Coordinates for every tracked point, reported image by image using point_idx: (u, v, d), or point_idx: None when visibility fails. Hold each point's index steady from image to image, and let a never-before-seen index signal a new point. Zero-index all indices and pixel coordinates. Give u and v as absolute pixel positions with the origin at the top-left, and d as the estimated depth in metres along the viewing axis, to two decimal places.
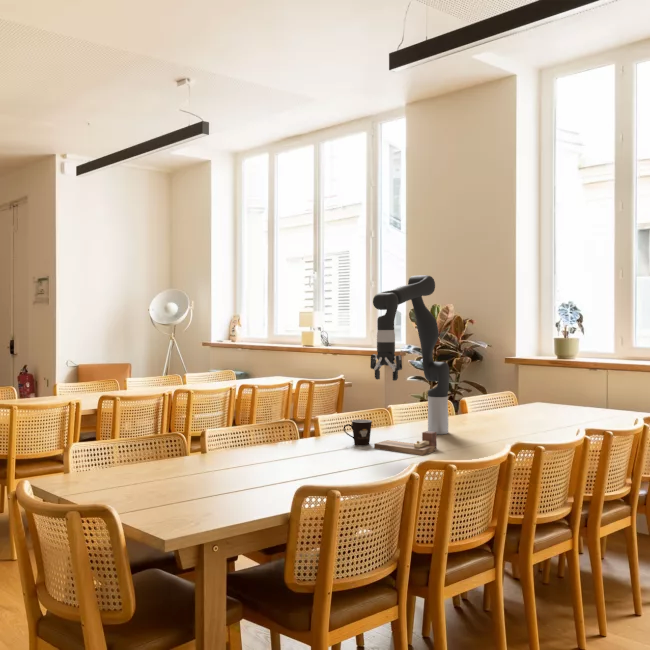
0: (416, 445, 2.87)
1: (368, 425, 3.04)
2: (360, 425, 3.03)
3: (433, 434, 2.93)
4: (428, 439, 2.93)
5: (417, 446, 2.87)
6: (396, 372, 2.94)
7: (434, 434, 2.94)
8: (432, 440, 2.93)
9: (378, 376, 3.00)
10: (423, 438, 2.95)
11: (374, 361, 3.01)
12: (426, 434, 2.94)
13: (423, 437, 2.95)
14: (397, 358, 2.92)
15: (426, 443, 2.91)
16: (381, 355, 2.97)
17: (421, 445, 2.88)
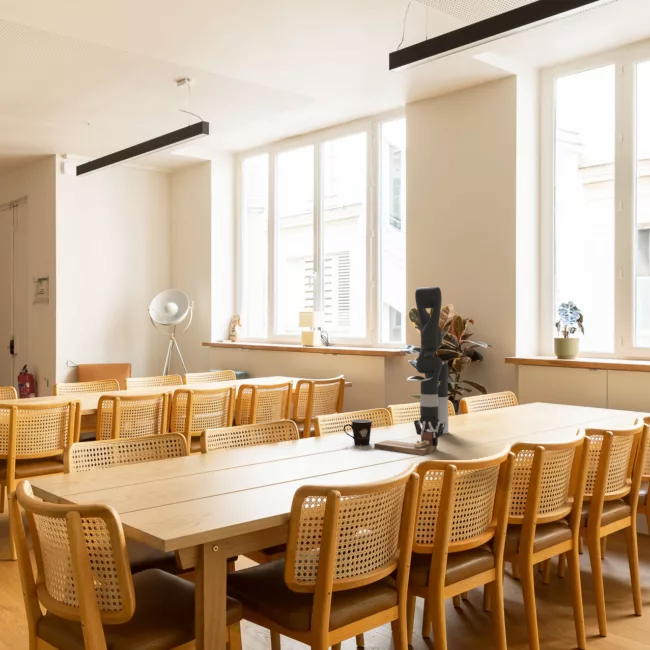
0: (416, 445, 2.87)
1: (368, 425, 3.04)
2: (360, 425, 3.03)
3: None
4: (428, 439, 2.93)
5: (417, 446, 2.87)
6: (436, 438, 2.93)
7: None
8: (432, 440, 2.93)
9: None
10: (423, 438, 2.95)
11: (419, 426, 2.98)
12: (426, 434, 2.94)
13: (424, 437, 2.95)
14: (440, 426, 2.90)
15: (426, 443, 2.91)
16: (424, 419, 2.95)
17: (421, 445, 2.88)
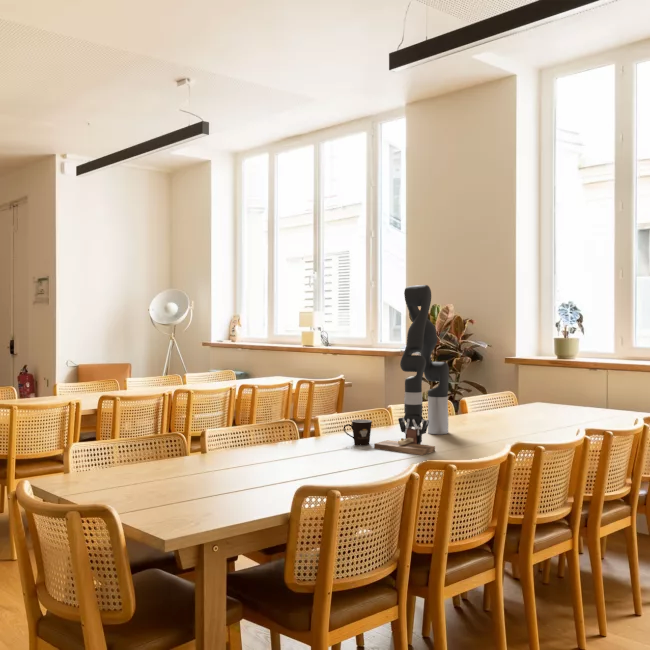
0: (400, 442, 2.92)
1: (368, 425, 3.04)
2: (360, 425, 3.03)
3: None
4: (412, 436, 2.98)
5: (401, 443, 2.92)
6: (420, 436, 2.98)
7: None
8: (416, 437, 2.98)
9: None
10: (407, 435, 3.00)
11: (403, 424, 3.03)
12: (410, 431, 2.99)
13: (408, 434, 2.99)
14: (424, 423, 2.95)
15: (410, 440, 2.96)
16: (408, 416, 3.00)
17: (405, 442, 2.93)
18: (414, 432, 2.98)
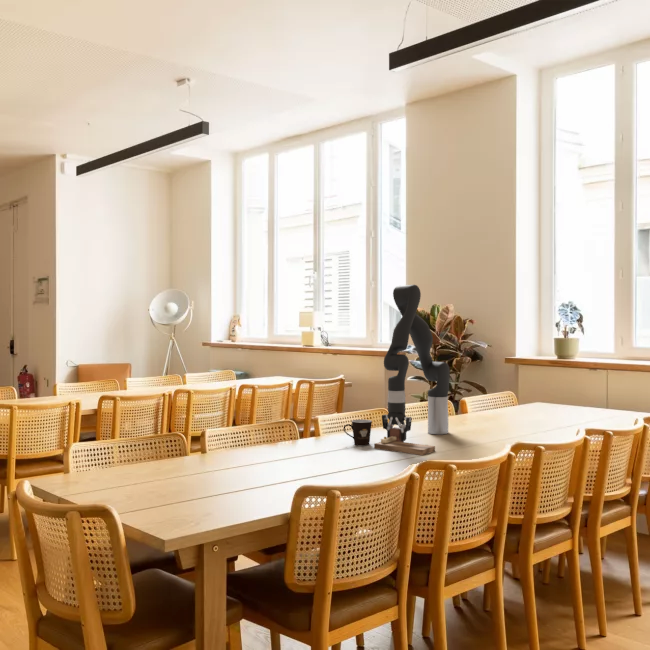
0: (383, 440, 2.97)
1: (368, 425, 3.04)
2: (360, 425, 3.03)
3: (400, 430, 3.04)
4: (395, 435, 3.03)
5: (384, 441, 2.97)
6: (405, 433, 3.02)
7: None
8: (399, 436, 3.03)
9: None
10: (391, 434, 3.05)
11: (386, 421, 3.08)
12: (393, 430, 3.04)
13: (391, 433, 3.05)
14: (407, 420, 3.00)
15: (393, 439, 3.01)
16: (392, 415, 3.05)
17: (388, 441, 2.98)
18: (397, 431, 3.03)
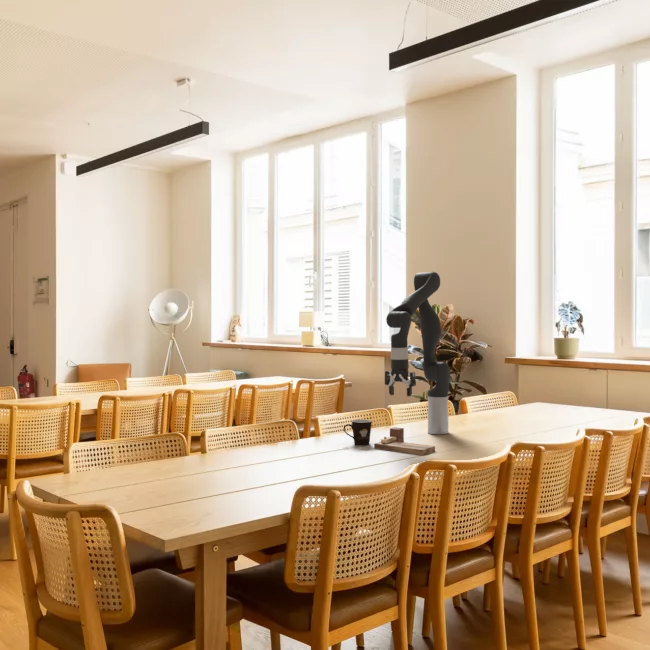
0: (383, 441, 2.97)
1: (368, 425, 3.04)
2: (360, 425, 3.03)
3: (400, 430, 3.04)
4: (395, 435, 3.03)
5: (384, 442, 2.97)
6: (410, 388, 3.03)
7: (401, 430, 3.04)
8: (399, 436, 3.03)
9: (392, 391, 3.09)
10: (391, 434, 3.05)
11: (388, 377, 3.10)
12: (393, 430, 3.04)
13: (391, 433, 3.05)
14: (411, 375, 3.02)
15: (393, 439, 3.01)
16: (395, 372, 3.07)
17: (388, 441, 2.98)
18: (397, 431, 3.03)
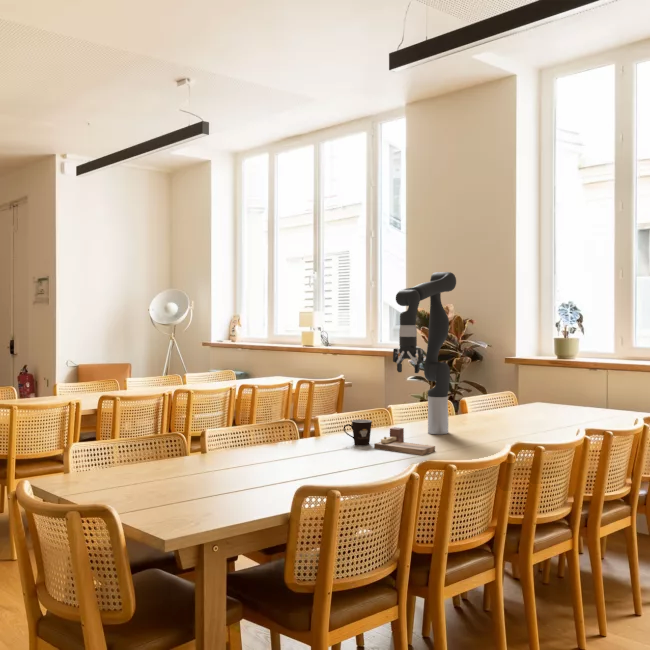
0: (383, 441, 2.97)
1: (368, 425, 3.04)
2: (360, 425, 3.03)
3: (400, 430, 3.04)
4: (395, 435, 3.03)
5: (384, 442, 2.97)
6: (418, 365, 3.08)
7: (401, 430, 3.04)
8: (399, 436, 3.03)
9: (400, 369, 3.14)
10: (391, 434, 3.05)
11: (396, 355, 3.15)
12: (393, 430, 3.04)
13: (391, 433, 3.05)
14: (419, 352, 3.07)
15: (393, 439, 3.01)
16: (403, 349, 3.12)
17: (388, 441, 2.98)
18: (397, 431, 3.03)
